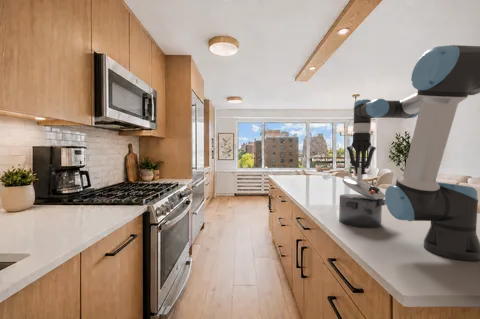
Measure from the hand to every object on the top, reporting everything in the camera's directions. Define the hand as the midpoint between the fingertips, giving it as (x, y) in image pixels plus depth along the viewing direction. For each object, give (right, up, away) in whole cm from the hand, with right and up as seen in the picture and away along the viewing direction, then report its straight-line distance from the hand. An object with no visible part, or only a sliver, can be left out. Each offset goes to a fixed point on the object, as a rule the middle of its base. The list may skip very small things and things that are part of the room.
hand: (359, 181), depth 119 cm
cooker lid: (-1, -3, -4) cm, 5 cm away
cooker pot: (-2, -20, -3) cm, 20 cm away
